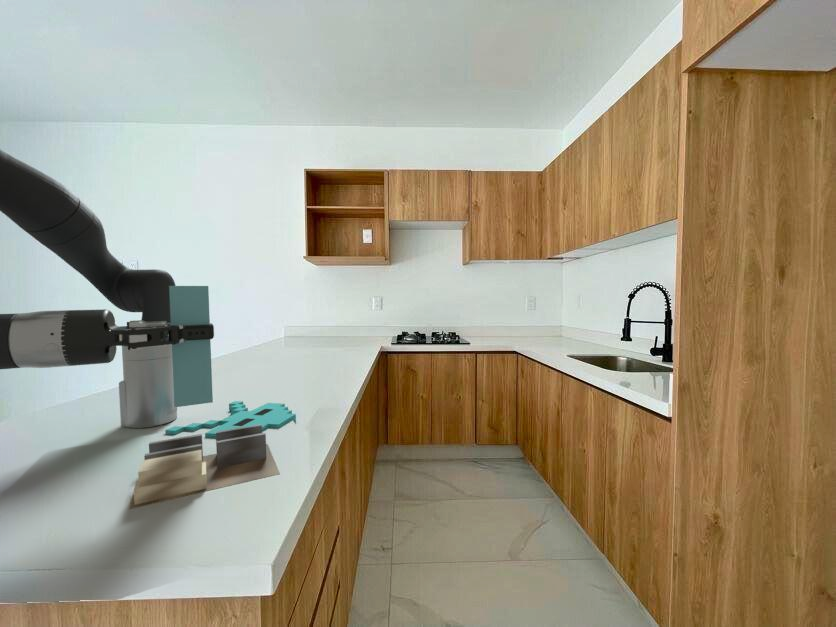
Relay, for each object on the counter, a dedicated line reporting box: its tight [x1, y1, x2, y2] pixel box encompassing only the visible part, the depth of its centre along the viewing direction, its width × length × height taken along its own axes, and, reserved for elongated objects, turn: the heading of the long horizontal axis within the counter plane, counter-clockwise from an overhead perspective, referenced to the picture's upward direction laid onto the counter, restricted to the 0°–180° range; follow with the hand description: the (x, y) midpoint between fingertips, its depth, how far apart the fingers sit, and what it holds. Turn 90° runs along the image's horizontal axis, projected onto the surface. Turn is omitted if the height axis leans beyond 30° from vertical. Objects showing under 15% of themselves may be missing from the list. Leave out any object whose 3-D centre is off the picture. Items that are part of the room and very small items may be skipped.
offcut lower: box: [133, 462, 207, 505], centre depth 52 cm, size 8×4×2 cm, turn 119°
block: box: [169, 285, 214, 408], centre depth 58 cm, size 5×2×18 cm, turn 119°
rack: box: [128, 424, 281, 510], centre depth 57 cm, size 18×13×5 cm
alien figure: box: [164, 400, 297, 439], centre depth 80 cm, size 20×2×20 cm
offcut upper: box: [137, 450, 202, 487], centre depth 52 cm, size 7×4×2 cm, turn 119°
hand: (213, 330), depth 59 cm, fingers closed on block, 2 cm apart
